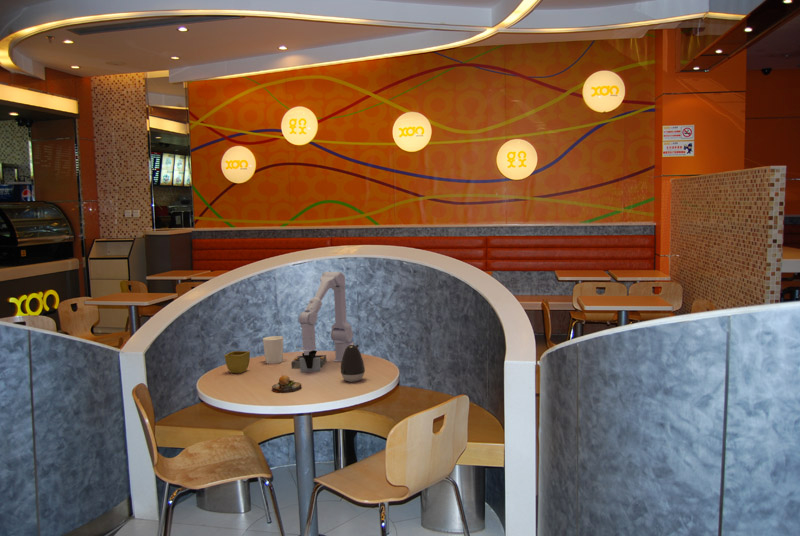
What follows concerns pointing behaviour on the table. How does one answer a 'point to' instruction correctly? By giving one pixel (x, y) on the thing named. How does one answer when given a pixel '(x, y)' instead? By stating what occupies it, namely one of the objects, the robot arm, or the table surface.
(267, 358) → the candle holder
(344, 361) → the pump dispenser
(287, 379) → the plate of food
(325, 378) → the table surface
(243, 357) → the flower pot
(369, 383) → the table surface
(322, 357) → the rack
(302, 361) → the panel
